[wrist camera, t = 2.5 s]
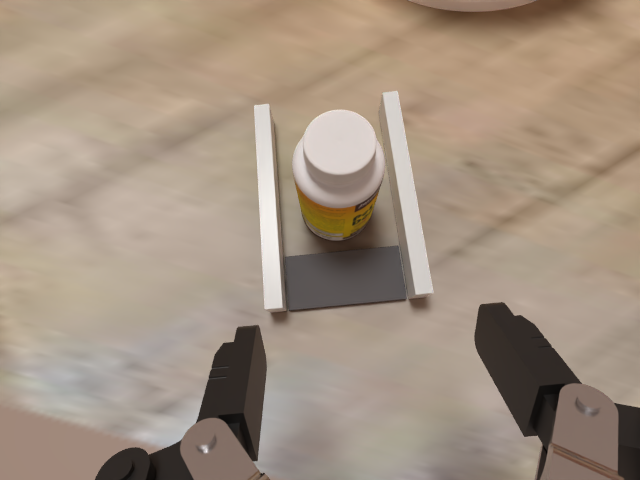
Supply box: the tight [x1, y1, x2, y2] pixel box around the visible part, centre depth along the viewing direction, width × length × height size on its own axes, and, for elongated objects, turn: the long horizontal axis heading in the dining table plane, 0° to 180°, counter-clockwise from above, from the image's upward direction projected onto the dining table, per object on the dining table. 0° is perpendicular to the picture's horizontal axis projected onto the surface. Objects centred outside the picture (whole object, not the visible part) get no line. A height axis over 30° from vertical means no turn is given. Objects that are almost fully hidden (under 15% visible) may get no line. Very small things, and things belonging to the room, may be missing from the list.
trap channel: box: [254, 91, 433, 312], centre depth 28 cm, size 16×11×2 cm
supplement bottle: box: [292, 110, 385, 241], centre depth 25 cm, size 6×6×10 cm
